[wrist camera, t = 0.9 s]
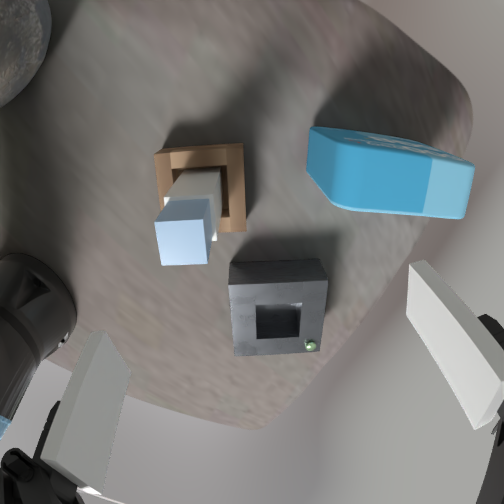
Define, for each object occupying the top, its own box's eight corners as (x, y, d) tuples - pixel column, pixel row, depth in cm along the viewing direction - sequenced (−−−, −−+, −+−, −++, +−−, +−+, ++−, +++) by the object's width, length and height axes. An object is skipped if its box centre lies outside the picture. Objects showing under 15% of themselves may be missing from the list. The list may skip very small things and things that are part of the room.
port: (235, 331, 40) (234, 358, 36) (229, 262, 36) (228, 287, 31) (312, 327, 40) (320, 353, 36) (319, 259, 36) (329, 282, 32)
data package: (413, 140, 30) (483, 167, 19) (407, 179, 32) (471, 221, 21) (306, 125, 29) (343, 142, 19) (303, 169, 31) (335, 210, 21)
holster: (170, 223, 33) (164, 235, 31) (161, 148, 30) (153, 154, 27) (246, 219, 33) (246, 231, 31) (243, 143, 30) (243, 147, 27)
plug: (187, 204, 32) (158, 269, 20) (184, 169, 30) (149, 217, 19) (223, 202, 32) (212, 267, 20) (221, 167, 30) (207, 214, 19)
